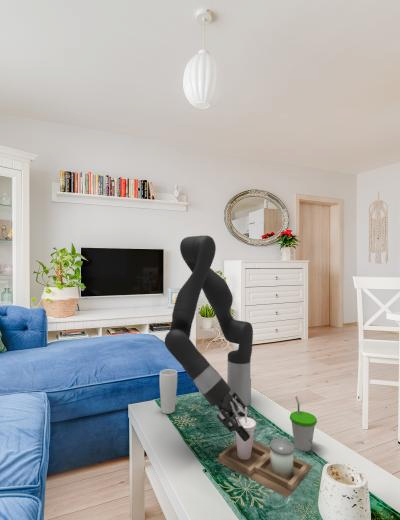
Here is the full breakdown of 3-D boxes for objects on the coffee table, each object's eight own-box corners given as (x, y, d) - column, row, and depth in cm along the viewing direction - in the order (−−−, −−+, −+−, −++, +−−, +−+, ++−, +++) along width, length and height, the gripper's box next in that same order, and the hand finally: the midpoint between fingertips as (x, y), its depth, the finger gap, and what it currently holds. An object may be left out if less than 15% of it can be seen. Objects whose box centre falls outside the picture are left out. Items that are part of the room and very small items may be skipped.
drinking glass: (174, 416, 120) (174, 375, 120) (156, 414, 121) (157, 374, 121) (178, 408, 126) (179, 369, 126) (162, 406, 128) (162, 368, 128)
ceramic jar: (276, 461, 92) (276, 435, 92) (298, 470, 88) (298, 444, 88) (265, 472, 87) (265, 445, 87) (287, 483, 83) (287, 455, 83)
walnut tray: (245, 440, 104) (245, 432, 104) (313, 470, 90) (313, 460, 90) (215, 464, 92) (215, 454, 92) (287, 502, 78) (287, 491, 78)
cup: (316, 460, 94) (317, 409, 94) (289, 455, 97) (289, 405, 97) (315, 446, 102) (316, 398, 102) (289, 441, 104) (290, 395, 104)
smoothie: (240, 464, 89) (241, 414, 89) (228, 451, 95) (229, 404, 95) (259, 459, 91) (260, 409, 91) (247, 446, 97) (248, 400, 97)
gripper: (212, 386, 89) (254, 438, 85) (227, 369, 102) (264, 414, 98) (194, 402, 91) (234, 454, 87) (210, 384, 104) (246, 428, 100)
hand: (250, 432), depth 92 cm, fingers closed on smoothie, 6 cm apart
